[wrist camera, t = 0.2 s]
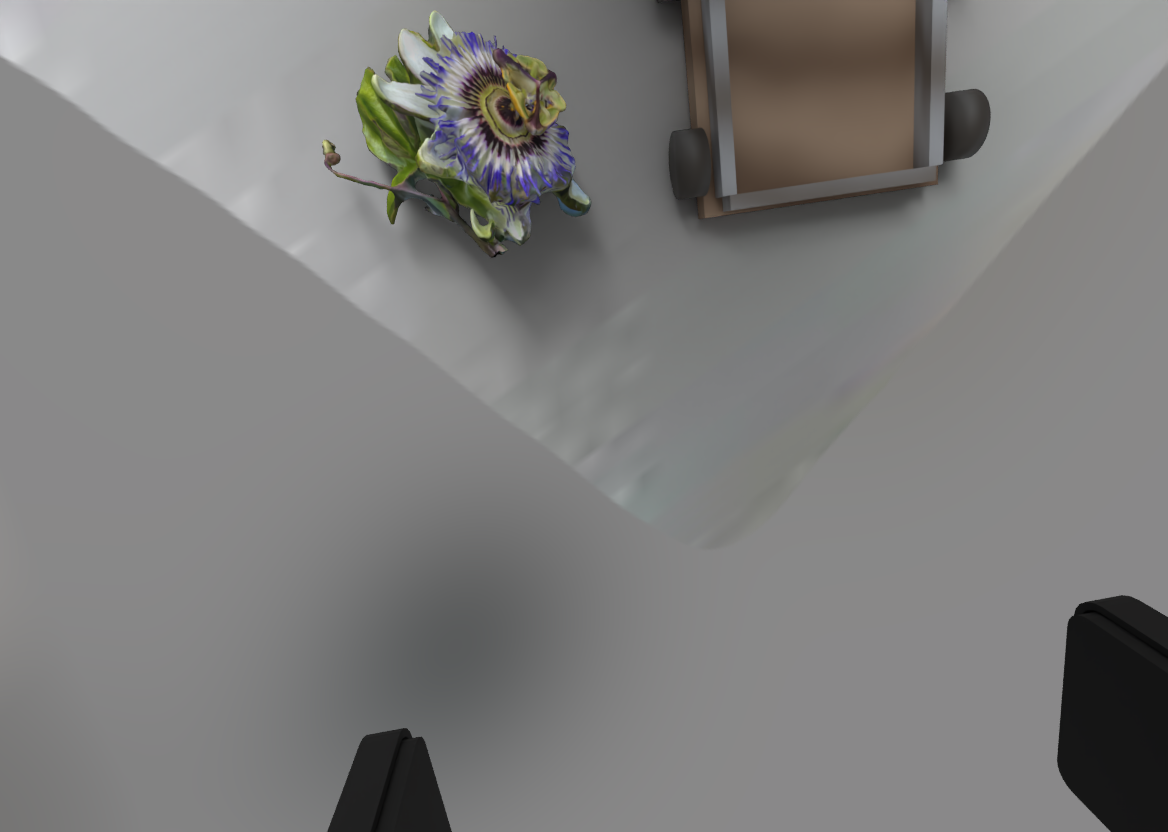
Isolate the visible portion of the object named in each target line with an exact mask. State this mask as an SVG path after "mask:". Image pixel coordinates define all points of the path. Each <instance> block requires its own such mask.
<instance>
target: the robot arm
mask: <svg viewBox="0 0 1168 832" xmlns="http://www.w3.org/2000/svg"><path fill="white" fill-rule="evenodd" d="M1057 762H1058V768H1059V771H1060V773H1061V776H1062V778H1063V780H1064V781H1065V783H1066V785H1067V786H1068V787H1069V789H1070V790H1071V791H1072V792H1073V793H1074V794H1075V795H1076V796H1077V797H1078V798H1079V799H1080V800H1081V801H1082V802H1083V803H1084V805H1086V807H1087V808H1088V809H1089V810H1090V811H1091V812H1092V813H1093V814H1094V815H1095V816H1096V817H1097V818H1098V819H1099V820H1100V821H1101V822H1102V823H1103V824H1104V825H1105V826H1106V827H1107V828H1108V829H1109V830H1110V831H1111V832H1168V617H1166V616H1165V615H1163V614H1161V613H1160V612H1158V611H1156V610H1154V609H1153V608H1151V607H1150V606H1148V605H1146V604H1144V603H1143V602H1141V601H1139V600H1137V599H1135V598H1133V597H1130V596H1123V595H1121V596H1116V597H1111V598H1105V599H1100V600H1095V601H1089V602H1085V603H1081V604H1079V606H1078V607H1077V608H1076V610H1075V614H1074V616H1072V617H1071V618H1070V619H1069V621H1068V626H1067V639H1066V653H1065V665H1064V678H1063V691H1062V704H1061V718H1060V732H1059V743H1058V757H1057ZM328 832H452V831H451V828H450V824H449V821H448V818H447V814H446V811H445V808H444V804H443V801H442V797H441V794H440V791H439V788H438V784H437V781H436V777H435V774H434V771H433V767H432V764H431V761H430V757H429V754H428V750H427V747H426V744H425V741H424V739H423V738H422V737H416V738H412V736H411V733H410V731H409V730H408V729H407V728H403V729H398V730H392V731H387V732H381V733H376V734H370V735H366V736H365V737H364V738H363V739H362V741H361V743H360V745H359V748H358V750H357V753H356V756H355V758H354V761H353V764H352V767H351V769H350V772H349V775H348V778H347V780H346V783H345V786H344V788H343V791H342V794H341V796H340V799H339V802H338V804H337V807H336V810H335V813H334V815H333V818H332V821H331V823H330V826H329V829H328Z"/></svg>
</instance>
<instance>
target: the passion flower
mask: <svg viewBox="0 0 1168 832" xmlns="http://www.w3.org/2000/svg"><path fill="white" fill-rule="evenodd" d="M429 23H430V25H429V29H428V34H429V40H428V41H426V40H425V39H424V38H423V37H422V36H421V35H420V34H419V33H415V32H414V31H410V30H407V29H402V30H401V32H400V34H399V37H398V52H399V56H400V58H401V61H402V63H403V65H404V66H403V65H402V63H401V62H400V61H399V59H398V58H397V56H396V55H395V56H393V57H391V58H389V59H388V61H387V65H386V68H385V73H386V75H387V76H388V77H389V79H390V80H391V83H388V82H386V81H385V80H384V79H382V78H380V77H379V76H378V75H376V74H375V72H374V71H373V69H371V68H370V67H368V68H367V69H366V70H365V74H364V77H363V80H362V82H361V87H360V90H359V91H358V92H357V97H356V102H357V107H358V111H359V114H360V117H361V120H362V123H363V129H362V132H363V134H364V135H365V138H366V144H367V147H368V149H369V151H370V152H371V153H372V154H374V155H375V156H376V157H377V158H379V159H380V160H381V161H384V162H385V163H387V164H388V165H389V166H390V167H392V168H394V169H396V170H397V172H398V173H397V175H396V176H395V177H394V178H393V180H392V184H391V186H387V185H383V184H379V183H376V182H374V181H364V180H361V179H359V178H356V177H353V176H349V175H345V174H341V173H338V172H336V171H334V170H332V168H331V166H332V165H336V164H338V163H339V162H340V155H339V154H337V153H335V151H334V150H335V148H336V147H335V145H334V144H333V143H331V142H330V141H328V140H324V141H323V142H322V143H323V146H322V147H323V154H324V155H325V160H324V163H325V166H326V167H327V168H328V169H329V170H330V171H331V172H333V173H334V174H335V175H336V176H337V177H340V178H344V179H348V180H351V181H353V182H357V183H360V184H363V185H367V186H373V187H376V188H378V189H387V190H389V193H388V196H387V214H388V217H389V220H390V223H391V224H394V223H395V218H396V215H397V211H398V208H399V206H400V204H401V203H402V202H404V201H405V200H407V199H409V198H417V199H422V200H423V201H425V202H426V204H427V205H428V206H429V207H425V209H426V210H427V211H430V212H432V213H433V214H435V215H439V216H442V217H445V218H447V219H448V220H450V221H452V222H456V223H457V225H459V226H460V227H461V228H462V229H463V230H464V231H465V232H466V233H467V234H468V235H469V236H470V237H471V238H472V239H473V240H474V241H475V242H476V243H477V244H478V245H479V247H480V248H481V249H482V250H483V251H484V252H485V253H487V254H488V255H489V256H490V257H491V258H492V257H496V256H497V254H500V255H503V254H504V253H505V252H506V251H507V250H508V249H507V248H506V247H505V246H504V245H503V244H501V242H502V241H505V240H510V241H513V242H515V243H516V244H518V245H519V246H521V245H522V244H524V243H525V242H526V241H527V240H528V239H529V237H530V234H531V228H530V227H531V223H532V222H531V220H530V206H531V204H532V202H533V203H536V204H537V205H539V204H540V200H539V197H540V196H541V194H542V193H547V192H552V193H553V194H554V195H555V196H556V197H557V199H558V200H559V205H560V208H561V210H563V211H564V212H565V213H566V214H568V215H571V216H575V217H577V216H581V215H584V214H586V213H587V212H588V211H589V209H590V206H591V201H590V198H589V197H588V196H587V195H586V194H585V193H584V192H583V191H582V190H581V189H580V188H579V186H578V185H577V183H576V182H575V181H574V180H573V179H572V175H573V172H574V170H575V167H576V166H575V159H574V157H573V156H572V154H571V150H570V148H569V147H568V135H569V132H568V131H567V130H566V128H565V127H564V126H559V125H558V124H557V123H556V122H557V120H558V115H559V113H560V112H563V111H564V110H565V109H566V103H565V101H564V100H563V98H562V97H561V96H560V94H559V93H558V92H557V91H555V90H554V87H555V85H556V82H557V77H556V74H555V73H554V72H552V71H550V70H548V69H547V68H546V66H545V64H544V63H543V62H542V61H540V60H538V59H536V58H531V57H529V56H523V55H516V54H512V53H510V51H509V50H508V49H504V46H503V48H502V49H499V48H497V41H496V36H494V40H495V43H494V44H492V43H491V41H490V40H489V41H488V42H485V41H484V40H483V38H482V36H481V34H477V35H476V34H474V33H473V32H471V33H465V32H461V33H460V32H458V33H457V32H454V31H453V30H452V29H451V27H450V26H449V24H448V23H447V22H446V21H445V19H444V17H443V16H442V15H441V14H439V13H438V12H437V11H433V12H432V13H431V15H430V17H429ZM425 178H427V179H428V180H429V181H431V182H435V184H436V185H437V187H438V188H439V190H440V192H441V195H442V197H441V198H440V199H439V198H436V197H434V196H433V195H430V196H429V195H426V194H423V193H420V192H418V191H416V189H415V184H416V182H417V181H418V180H422V179H425ZM538 196H539V197H538ZM458 204H460V205H463V206H465V207H466V208H468V209H469V210H470V211H471V212H470V217H471V224H472V228H473V229H472V228H471V227H470V226H469V225H468V224H467V223H466V222H465V221H464V220H463V219H462V218H461V217H460V215H459V206H458ZM475 214H476V215H479V216H481V217H483V218H485V219H486V220H487V221H488V223H489V224H488V225H485V226H481V225H480V224H479V222H478V219H477V218H476V216H475Z"/></svg>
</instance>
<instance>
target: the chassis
mask: <svg viewBox="0 0 1168 832" xmlns="http://www.w3.org/2000/svg"><path fill="white" fill-rule="evenodd" d="M668 1H675V0H657V2H658V3H661V2H668ZM681 9H682V21H683V34H684V46H685V58H686V71H687V83H688V95H689V107H690V120H691V129H687V130H680V131H674V132H672V134H671V137H670V143H669V170H670V178H671V184H672V188H673V192H674V195H675V197H676V198H677V199H678V200H681V199H687V198H694V197H697V206H698V218H699V219H703V218H710V217H717V216H724V215H731V214H738V213H745V212H751V211H758V210H765V209H772V208H779V207H786V206H793V205H800V204H806V203H813V202H820V201H827V200H834V199H841V198H848V197H855V196H861V195H868V194H875V193H882V192H889V191H896V190H903V189H910V188H916V187H923V186H929V185H936V184H938V165H942V164H943V161H950V160H957V159H964V158H969V157H971V156H973V155H974V154H975V153H976V152H977V151H978V150H979V149H980V148H981V146H982V145H983V143H984V141H985V139H986V137H987V134H988V130H989V126H990V106H989V102H988V100H987V97H986V96H985V94H984V93H983V92H981V91H980V90H978V89H970V90H963V91H955V92H948V93H945V72H946V36H947V0H681Z"/></svg>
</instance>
